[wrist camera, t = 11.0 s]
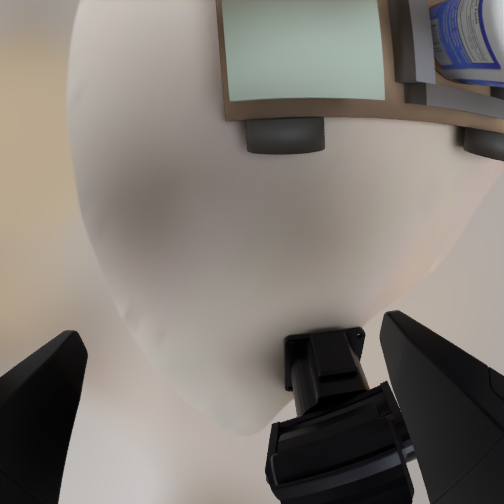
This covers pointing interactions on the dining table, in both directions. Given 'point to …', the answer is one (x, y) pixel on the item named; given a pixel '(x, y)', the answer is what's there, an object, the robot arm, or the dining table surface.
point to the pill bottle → (469, 41)
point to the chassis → (342, 72)
